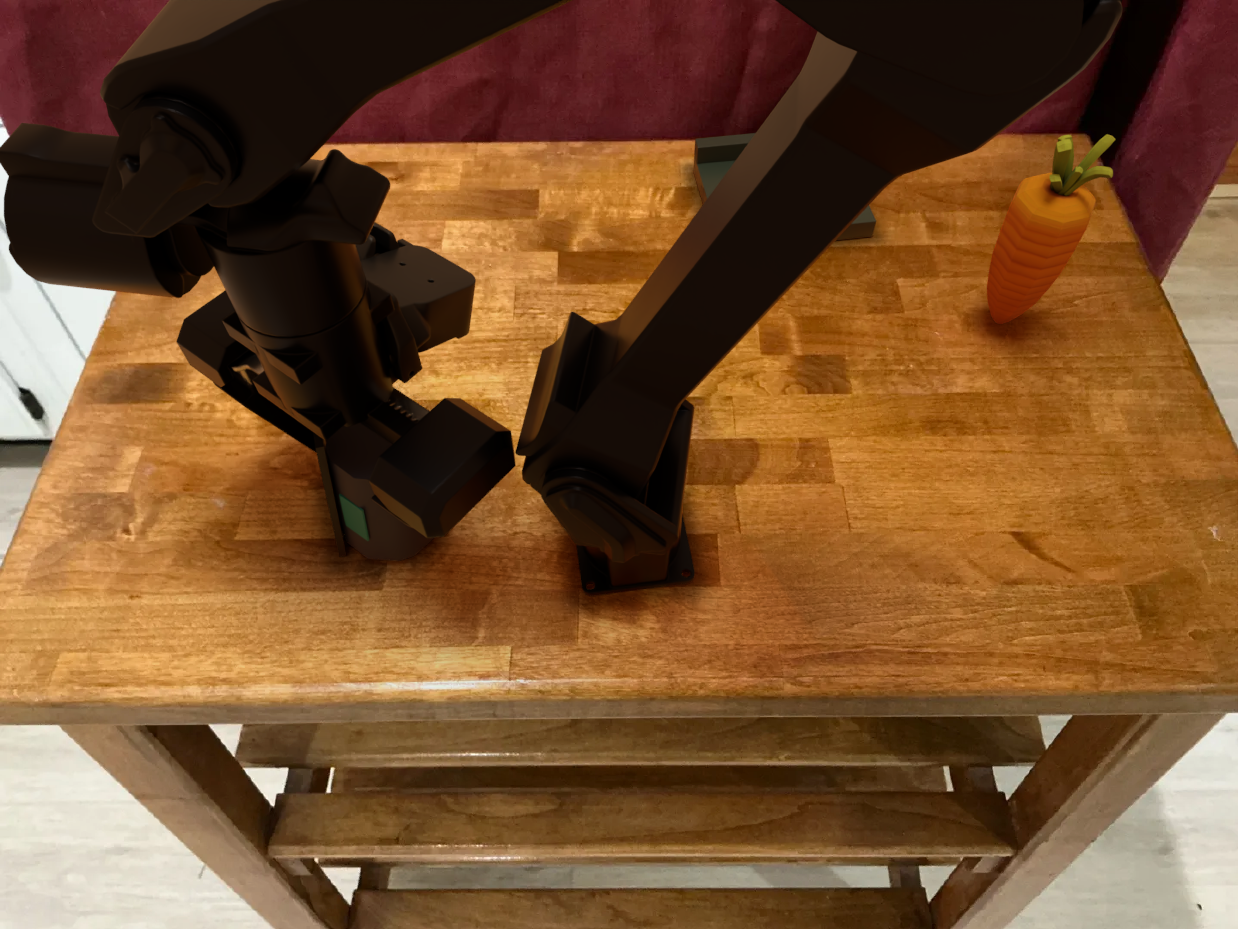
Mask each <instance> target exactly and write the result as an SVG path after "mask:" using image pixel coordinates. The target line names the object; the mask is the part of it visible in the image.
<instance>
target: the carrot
mask: <svg viewBox="0 0 1238 929" xmlns="http://www.w3.org/2000/svg"><path fill="white" fill-rule="evenodd" d="M1115 141H1116V138H1115V137H1114V136H1113V135H1110V134H1105V135H1104V136H1103V137H1102V138H1100V139H1099V140H1098V141H1097V142H1096V143H1095V144H1094V145H1093V146H1092V148H1090V150H1089V151H1088V152H1087V153H1086V155H1085V156H1084V158H1082V160H1081V161H1080V162H1079V164H1078V165H1077V166H1075V167H1074V162H1075V150H1074V148H1075V146H1074V141H1073V136H1072V135H1071V134H1064V135H1061V136H1060V137H1058V138H1057V141H1056V144H1055V147H1054V151H1053V158H1052V169H1051V172H1048V173H1047V172H1046V173H1042V174H1037V175H1033V176H1029V177H1026V178H1023V179H1022V180H1021V182H1020V183H1019V185H1018V187H1017V188H1016V191H1015V193H1014V196H1013V197H1012V200H1011V202H1010V204H1009V207H1008V210H1007V212H1006V215H1005V217H1004V219H1003V221H1002V225H1001V228H1000V230H999V234H998V236H997V238H996V242H995V245H994V248H993V250H992V253H991V257H990V263H989V268H988V275H987V282H986V298H987V305H988V310H989V313H990V317H991V319H992V320H993V321H994V323H995V324H997V325H1003V324H1007V323H1009V322H1011V321H1014V319H1017V318H1018V317H1020V316H1022V315H1024V314H1025V313H1026V312H1028V310H1030V309H1031V308H1032V307H1033V306H1034V305H1037V303H1038V302H1039V300H1041V299H1042V297H1043V296H1044V295H1045V294H1046V293H1047V291H1048V290H1049V289H1050V288H1051V287H1052V286H1053V284H1054V283H1055V282H1056V281H1057V279H1058V278H1059V277H1060V275H1061V274H1062V272H1063V270H1064V269H1065V267H1066V266H1067V264H1068V262H1069V260H1070V259H1071V257H1073V256H1072V255H1073V254H1074V252H1075V250H1076V249H1077V247H1078V245H1079V243H1080V242H1081V240H1082V238H1083V236H1084V235H1085V232H1086V231H1087V229H1088V226H1089V223H1090V221H1091V218H1092V215H1093V212H1094V209H1095V208H1096V202H1097V198H1095V196H1094V195H1093V193H1091V191H1090V190H1089V189H1088V188H1087V186H1085V184H1086V183H1088V182H1091V181H1093V180H1096V179H1100V178H1104V179H1112V178H1113V177H1114V169H1113V168H1111V167H1110V166H1105V165H1097V166H1093V167H1092V165H1093V164H1094V163H1095V162H1096V161H1097V160H1098V159H1099V158H1100V157H1101V155H1103V153H1105V152H1106V151H1107V150H1108V149H1109V148H1110V147H1111V146H1112V145H1113V143H1114V142H1115ZM1090 167H1091V168H1090Z"/></svg>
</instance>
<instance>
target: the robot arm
mask: <svg viewBox="0 0 1238 929" xmlns="http://www.w3.org/2000/svg"><path fill="white" fill-rule="evenodd" d="M572 1H573V0H168V1H167V3H166V4H165V5H164V6H163V7H162V9H161V10H160V11H159V12H158V14H156V16H155V17H154V18H153V20H151V22H150V23H149V24H148V25H147V27H146V28H145V29H144V30H143V32H142V33H141V34H140V35H139V36H138V37H137V38H136V39H135V41H134V42H133V43H132V45H131V46H130V47H129V48H127V51H126V52H125V53H124V54H123V55H122V56H121V58H120V59H119V60H118V61H117V62H116V64H115V65H114V66H113V67H112V69H111V70H110V71H109V72H108V73H107V74H106V76H105V77H104V78H103V81H102V84H101V87H100V90H99V94H100V95H99V96H100V98H101V99H102V101H103V102H104V103H105V107H106V111H107V116H108V118H109V120H110V122H111V124H112V126H113V128H114V129H115V132H116V133H117V135H110V134H101V133H89V132H78V131H71V130H65V129H62V128H59V127H55V126H52V125H46V124H40V123H28V122H21V123H20V124H19V125H18V127H16V128H15V129H14V131H13V132H12V133H11V134H10V135H9V136H8V137H7V139H6V140H5V141H4V142H3V143H2V145H0V165H1V167H2V169H3V170H4V171H5V173H6V174H7V176H8V177H7V181H6V186H5V190H4V196H3V220H4V225H5V232H6V235H7V238H8V240H9V245H8V251H9V254H10V255H11V257H12V259H13V260H14V262H15V263H16V265H17V266H18V267H19V268H20V269H21V270H22V271H23V272H24V273H25V274H26V275H27V276H29V277H31V278H32V279H34V280H35V281H37V282H40V283H44V284H47V285H52V286H53V285H55V286H62V287H63V286H64V287H73V288H82V289H89V290H90V289H91V290H100V291H108V292H116V293H117V292H119V293H127V294H137V295H144V296H154V297H163V298H175V299H181V298H182V297H183V296H184V295H186V294H188V293H190V292H191V291H192V289H193V288H194V287H196V285H197V284H198V283H199V281H200V280H201V278H202V276H206V275H207V274H209V273H210V272H211V271H212V270H213V269H214V270H215V271H216V274H217V276H218V278H219V279H220V282H221V284H222V286H223V288H224V291H222V292H221V293H219V294H217V295H216V296H215V297H213V298H212V299H210V300H209V301H207V302H206V303H205V304H204V305H202V306H201V307H199V308H198V309H196V310H195V311H193V312H192V313H190V314H189V315H188V316H186V317H185V318H184V319H183V320H182V324H181V327H180V329H179V332H178V335H177V339H176V344H177V345H178V347H179V349H180V352H182V354H183V356H184V357H185V360H186V361H187V362H188V364H189V366H191V367H192V368H193V369H195V370H196V371H197V372H199V373H200V374H201V375H203V376H204V377H206V378H207V379H208V380H210V381H211V382H212V383H213V384H214V386H215V387H217V388H218V389H219V390H220V391H221V392H223V393H225V394H226V395H227V396H229V397H230V398H231V399H232V400H234V401H236V402H237V403H239V404H240V405H241V406H242V407H244V408H246V409H247V410H249V411H250V412H251V413H253V414H254V415H256V416H258V417H260V418H261V419H263V420H264V421H266V422H267V423H269V424H270V425H272V426H274V427H275V428H277V429H279V430H280V431H281V432H283V433H284V434H286V435H287V436H289V437H290V438H292V439H294V440H295V441H297V442H298V443H299V444H301V445H303V446H304V447H306V448H308V449H309V450H310V451H312V452H313V453H316V448H315V442H314V435H313V432H314V433H315V434H317V435H318V436H320V437H321V438H322V439H324V440H325V441H326V442H327V439H328V438H330V437H331V436H332V435H333V434H334V433H336V432H337V431H338V430H339V429H340V428H341V427H343V426H346V427H350V426H353V425H356V424H358V423H361V424H362V425H364V426H365V427H367V428H368V429H370V430H371V431H373V432H374V433H375V434H377V435H378V436H380V437H381V438H383V439H384V440H385V441H387V442H388V443H390V444H391V446H390V447H389V448H388V449H387V450H386V451H384V452H383V453H382V454H381V455H380V456H379V457H378V460H377V462H376V465H375V467H374V469H373V472H372V474H371V477H370V479H369V482H370V485H371V487H372V490H373V492H374V494H375V495H374V496H373V497H372V498H371V499H372V500H373V501H374V502H375V503H377V504H378V505H380V506H381V507H382V508H384V509H385V510H386V511H388V512H389V513H390V514H392V515H393V516H395V517H396V518H397V519H399V520H400V521H401V522H403V523H404V524H406V525H407V526H409V527H411V528H414V529H415V530H417V531H418V532H420V533H421V534H422V535H424V536H425V537H426V538H434V537H435V538H443V537H446V535H447V534H448V533H450V531H451V530H452V529H454V528H455V527H456V526H457V525H458V524H459V522H461V521H462V520H463V519H464V518H465V517H466V516H467V515H468V514H469V513H470V512H471V511H472V510H473V509H474V508H475V507H476V506H477V505H478V504H479V503H480V502H481V501H482V500H483V499H484V498H485V497H486V496H487V495H488V494H489V493H490V492H491V491H492V490H493V489H494V488H495V487H496V486H497V485H498V484H499V483H500V482H501V481H502V480H503V479H504V478H505V477H506V476H507V475H508V474H509V473H510V472H511V471H512V470H513V469H514V468H515V467H516V466H517V465H516V455H517V456H519V457H524V460H523V464H522V470H521V478H522V481H523V482H524V483H525V484H526V485H530V487H531V488H532V490H534V491H535V492H537V493H538V494H539V495H540V497H541V499H542V501H543V503H544V504H545V506H546V507H547V508H548V509H549V511H550V512H551V513H552V515H553V516H554V517H555V519H556V520H557V522H558V523H559V524H560V525H561V527H562V528H563V529H564V531H565V532H566V533H567V535H568V536H569V537H570V539H571V540H572V541H573V543H574V544H575V545H576V554H577V555H576V556H577V562H578V569H579V577H580V578H579V579H580V586H581V592H582V593H583V594H584V595H585V596H587V597H596V596H604V595H610V594H611V595H613V594H620V593H621V594H622V593H628V592H636V591H643V590H650V589H657V588H667V587H673V586H682V585H689V584H691V583H693V582H694V580H695V576H696V575H695V574H696V571H695V567H694V562H693V557H692V553H691V548H690V547H691V546H690V543H689V537H688V533H687V527H686V524H685V518H684V514H683V510H684V498H685V489H686V488H685V487H686V480H687V472H688V465H689V456H690V450H691V449H690V448H691V438H692V432H693V431H692V430H693V425H694V423H693V422H694V416H695V408H696V407H695V405H694V404H692V403H691V402H690V401H688V399H687V398H688V397H689V396H690V395H691V394H692V393H693V392H694V391H695V390H696V389H697V388H698V387H699V386H700V385H701V384H702V382H703V381H704V380H706V378H707V377H708V376H709V375H710V374H711V373H712V372H713V371H714V370H715V369H716V367H718V365H720V363H721V362H722V361H723V360H725V358H726V357H727V356H728V355H729V354H730V353H731V352H732V351H733V349H734V348H735V347H736V346H738V344H739V343H740V342H741V341H742V340H743V339H744V338H745V337H746V336H747V335H748V334H749V333H750V332H751V331H752V329H753V328H754V327H755V326H756V325H757V324H759V322H760V321H761V320H763V318H764V317H765V316H766V314H768V313H769V312H770V311H771V309H772V308H773V307H775V305H776V304H778V302H779V301H780V300H781V299H782V298H783V297H784V296H785V295H786V294H787V293H788V292H789V290H790V289H791V288H792V287H793V286H794V285H795V284H796V283H797V282H798V281H799V280H800V279H801V277H803V276H804V274H806V273H807V272H808V270H809V269H810V268H811V267H812V266H813V265H814V264H815V263H816V262H817V261H818V259H820V258H821V257H822V256H823V254H824V253H825V252H826V251H827V250H828V249H829V248H830V247H831V246H832V244H834V243H835V242H836V241H837V240H836V239H837V238H838V237H839V236H840V235H841V234H842V233H843V232H844V231H845V230H846V229H847V228H848V227H849V226H850V225H851V223H852V222H853V221H854V220H855V219H856V218H857V217H858V216H859V215H860V214H861V213H862V212H863V211H864V210H865V209H866V208H867V207H868V206H870V204H872V203H873V202H874V201H875V199H877V197H878V196H879V195H880V194H881V193H882V192H883V191H884V190H885V189H886V188H888V186H889V185H891V184H892V183H893V182H894V181H896V180H898V178H900V177H902V176H904V175H906V174H910V173H913V172H917V171H918V170H919V171H920V170H921V169H924V168H927V167H931V166H934V165H938V164H941V163H943V162H946V161H949V160H952V159H955V158H956V159H957V158H959V157H961V156H965V155H968V154H971V153H973V152H976V151H978V150H980V149H981V148H982V147H984V146H986V145H987V144H988V143H989V142H990V141H992V140H993V139H994V138H996V137H997V136H999V135H1000V134H1001V133H1003V132H1004V131H1006V129H1008V128H1010V126H1012V125H1013V124H1014V123H1016V122H1017V121H1019V120H1020V119H1021V118H1023V117H1024V116H1026V114H1028V113H1029V112H1031V111H1032V110H1033V109H1035V108H1037V106H1039V105H1040V104H1042V103H1043V102H1044V101H1045V100H1047V99H1049V98H1050V97H1051V96H1052V95H1053V94H1055V93H1056V92H1058V91H1060V89H1062V88H1063V87H1064V86H1066V85H1067V84H1068V83H1070V82H1072V80H1073V79H1074V78H1075V77H1077V76H1078V75H1079V74H1080V73H1082V72H1083V71H1084V70H1085V69H1086V68H1087V67H1088V66H1089V65H1090V63H1091V62H1092V61H1093V60H1094V59H1095V57H1096V56H1097V55H1098V53H1099V52H1100V51H1101V50H1102V49H1103V48H1104V47H1105V45H1106V43H1107V42H1108V41H1109V40H1110V39H1111V37H1112V35H1113V33H1114V31H1115V29H1116V27H1117V25H1118V23H1119V21H1120V19H1121V17H1122V15H1123V11H1124V8H1123V5H1122V3H1123V0H775V2H777V3H778V4H779V5H781V6H782V7H784V8H785V9H786V10H788V11H789V12H790V13H792V14H793V15H795V16H796V17H797V18H799V19H800V20H801V21H803V22H804V23H806V24H807V25H808V26H810V27H811V28H812V29H814V30H815V31H816V35H815V37H814V40H813V42H812V45H811V48H810V51H809V53H808V55H807V58H806V59H805V62H804V64H803V66H802V68H801V70H800V72H799V74H798V75H797V77H795V79H794V81H793V82H792V84H791V85H790V86H789V87H788V89H787V90H786V92H785V93H784V95H783V96H782V97H781V98H780V100H779V101H778V102H777V104H776V106H774V108H773V109H772V110H771V112H770V114H769V115H768V116H767V117H766V119H765V120H764V122H763V123H762V124H761V125H760V127H759V128H758V129H757V131H756V132H755V133H756V134H755V135H754V136H753V138H752V139H751V140H750V142H749V143H748V145H747V146H746V147H745V149H744V150H743V151H742V153H741V154H740V155H739V157H738V158H737V159H736V161H735V162H734V163H733V165H732V166H731V168H730V169H729V170H728V172H727V173H726V174H725V176H724V177H723V178H722V180H721V181H720V182H719V184H718V185H717V186H716V188H715V189H714V190H713V192H712V193H711V195H710V196H709V197H708V199H707V200H706V201H705V203H704V204H703V203H702V206H700V208H699V209H698V211H697V212H696V213H695V215H694V216H693V217H692V218H691V220H690V221H689V223H688V224H687V226H686V227H685V228H684V229H683V231H682V232H681V234H680V235H679V236H678V238H677V239H676V240H675V241H674V243H673V244H672V246H671V247H670V248H669V250H668V251H667V253H666V254H665V255H664V257H663V258H662V259H661V261H660V262H659V263H658V264H657V266H656V267H655V269H654V270H653V272H652V273H651V274H650V276H649V277H648V278H647V279H646V281H645V282H644V284H643V285H642V286H641V288H640V289H639V290H638V292H637V293H636V295H635V296H634V297H633V298H632V300H631V301H630V303H629V304H628V305H627V307H626V308H625V309H624V310H623V312H622V313H621V314H620V315H619V316H618V317H617V318H616V319H611V320H607V321H602V322H598V323H593V322H591V321H590V320H588V319H587V318H585V317H583V316H581V315H580V314H579V313H577V312H575V311H570V312H569V314H568V317H567V320H566V323H565V326H564V329H562V332H561V334H560V336H559V337H558V338H557V339H556V340H555V341H554V342H553V343H552V344H550V345H548V346H547V347H545V348H543V349H542V350H541V353H540V355H539V356H540V357H539V361H538V364H537V367H536V372H535V376H534V380H533V384H532V388H531V391H530V394H529V398H528V402H527V406H526V409H525V413H524V418H523V422H522V426H521V429H520V433H519V437H518V441H517V445H516V448H514V441H513V435H512V431H511V430H510V429H509V428H507V427H506V426H504V425H502V424H501V423H500V422H498V421H497V420H494V419H493V418H492V417H491V416H489V415H487V414H486V413H484V412H483V411H481V410H479V409H478V408H477V407H474V406H473V405H472V404H470V403H469V402H467V401H465V400H464V399H462V398H460V397H444V398H443V399H442V400H441V401H439V402H438V403H437V404H436V405H435V406H433V408H431V409H430V410H429V409H427V408H426V407H424V406H423V405H421V404H419V403H418V402H416V400H413V399H412V398H410V397H409V396H407V394H404V393H403V392H401V391H400V390H398V389H397V388H396V387H394V384H395V383H396V382H397V381H400V382H402V383H404V384H406V383H408V382H409V381H410V380H411V379H413V378H414V377H415V376H416V375H417V374H419V372H421V371H422V370H423V365H422V361H421V357H420V354H419V353H424V352H427V351H429V350H431V349H434V348H436V347H438V346H440V345H442V344H445V343H447V342H449V341H451V340H453V339H458V340H460V339H462V338H464V337H466V336H468V334H469V333H470V329H471V322H472V312H473V306H474V297H475V289H476V282H477V279H476V277H475V276H474V274H473V273H472V272H470V271H468V270H466V269H465V268H463V267H461V266H460V265H458V264H456V263H454V262H453V261H451V260H449V259H448V258H446V257H444V256H442V255H441V254H438V253H437V252H436V251H434V250H432V249H430V248H428V247H425V246H422V245H417V244H414V243H413V244H412V243H411V242H409V241H407V239H404V238H399V239H397V238H396V235H395V234H394V232H392V231H391V230H390V229H388V228H386V227H384V226H382V224H379V223H378V222H376V221H377V219H378V217H379V214H380V212H381V209H382V207H383V206H384V203H385V201H386V198H387V196H388V194H389V192H390V189H391V181H390V180H389V178H388V177H387V176H386V175H384V174H382V173H380V171H378V170H376V169H374V168H373V167H371V166H369V165H366V164H361V163H359V162H356V161H353V160H351V159H350V158H349V157H347V156H346V155H345V154H344V153H343V152H342V151H341V150H339V149H338V148H337V149H336V148H333V149H330V150H329V151H328V153H327V154H326V156H325V157H324V158H323V159H315V158H313V157H314V156H315V154H316V153H318V152H319V150H320V149H321V148H322V147H323V146H324V145H325V144H326V143H327V142H328V141H329V140H330V139H331V138H332V137H333V136H334V135H335V134H336V132H338V130H339V129H340V128H341V127H342V126H343V125H344V124H345V123H346V122H347V121H348V120H349V119H350V118H351V117H352V116H353V115H354V114H355V113H356V112H357V111H358V110H360V109H361V108H362V107H364V106H365V105H366V104H367V103H369V102H370V101H371V100H372V99H373V98H374V97H376V96H378V95H379V94H381V93H382V92H385V91H387V90H389V89H391V88H393V87H395V86H397V85H399V84H401V83H403V82H405V81H408V80H410V79H412V78H414V77H416V76H418V75H420V74H422V73H424V72H426V71H429V70H430V69H432V68H435V67H437V66H439V65H441V64H443V63H446V62H447V61H449V60H452V59H453V58H456V57H457V56H460V55H462V54H464V53H466V52H468V51H470V50H472V49H474V48H476V47H478V46H480V45H482V44H485V43H487V42H488V41H491V40H494V39H495V38H497V37H500V36H502V35H504V34H505V33H508V32H509V31H511V30H514V29H516V28H518V27H521V26H523V25H524V24H527V23H528V22H531V21H532V20H534V19H537V18H539V17H541V16H544V15H546V14H547V13H550V12H551V11H553V10H556V9H557V8H560V7H561V6H564V5H566V4H568V3H570V2H572ZM316 454H317V453H316ZM435 538H434V539H435ZM684 573H687V574H688V576H685V575H683V574H684ZM590 585H592V586H593V588H588V586H590Z"/></svg>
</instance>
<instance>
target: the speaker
mask: <svg viewBox="0 0 1238 929" xmlns="http://www.w3.org/2000/svg"><path fill="white" fill-rule="evenodd" d="M313 435H314V442H315V448H316V457H317V462H318V466H319V471H320V475H321V479H322V485H323V490H324V494H325V499H326V503H327V507H328V512H329V513H328V514H329V516H330V522H331V526H332V530H333V536H334V540H335V544H336V549H337V553H338V557H339V558H341V557H346V556H347V551H346V546H345V543H347V544H348V545H350V546H351V547H352V548H353V549H354V550H356V551H357V552H359V553H360V554H361V555H362V556H363V557H364V558H366V559H368V560H377V561H378V560H380V561H391V562H402V561H404V560H406V559H411V558H413V557H415V556H416V555H418V553H419V552H420V551H422V550H423V549H424V548H425V547H426V546H427V545H428V544H430V543H431V542H432V541H433V540H434V539H435V538H436V537H434V538H426V537H425V536H424V535H422V534H421V533H420V532H418V531H417V530H415V529H414V528H411V527H409V526H407V525H406V524H404V523H403V522H401V521H400V520H399V519H397V518H396V517H395V516H393V515H392V514H390V513H389V512H388V511H386V510H385V509H384V508H382V507H381V506H380V505H378V504H377V503H375V502H374V501H373V500H372V499H371V498H372V497H373V496H374V495H375V494H374V492H373V490H372V487H371V485H370V482H369V479H370V477H371V474H372V472H373V469H374V467H375V465H376V462H377V460H378V457H379V456H380V455H381V454H382V453H383V452H384V451H386V450H387V449H388V448H389V447H390V446H391V444H390V443H388V442H387V441H385V440H384V439H383V438H381V437H380V436H378V435H377V434H375V433H374V432H373V431H371V430H370V429H368V428H367V427H365V426H364V425H362V424H361V423H358V424H356V425H353V426H350V427H346V426H343V427H341V428H340V429H339V430H338V431H337V432H336V433H334V434H333V435H332V436H331V437H330V438H328V439H327V442H326V441H325V440H324V439H322V438H321V437H320V436H318V435H317V434H315V433H314V432H313Z"/></svg>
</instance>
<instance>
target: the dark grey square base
mask: <svg viewBox="0 0 1238 929" xmlns="http://www.w3.org/2000/svg"><path fill="white" fill-rule="evenodd" d="M755 134H756V132H753V133H743V134H742V133H741V134H731V135H720V136H709V137H698V138H695V139H694V150H693V151H694V152H693V168H692V171H693V174H694V178H695V181H696V185H697V188H698V192H699V195H700V198H701V201H702V205H703V204H704V203H705V201H706V200H707V199H708V197H709V196H710V195H711V193H712V192H713V190H714V189H715V188H716V186H717V185H718V184H719V182H720V181H721V180H722V178H723V177H724V176H725V174H726V173H727V172H728V170H729V169H730V168H731V166H732V165H733V163H734V162H735V161H736V159H737V158H738V157H739V155H740V154H741V153H742V151H743V150H744V149H745V147H746V146H747V145H748V143H749V142H750V140H751V139H752V138H753V136H754V135H755ZM876 224H877V219H876V217H875V214H874V213H873V211H872V208H871V206H870V205H869V206H868V207H867V208H866V209H865V210H864V211H863V212H862V213H861V214H860V215H859V216H858V217H857V218H856V219H855V220H854V221H853V222H852V223H851V225H850V226H849V227H848V228H847V229H846V230H845V231H844V232H843V233H842V234H841V235H840V236H839V237H838V238H837V239H836V240H835V241H844V240H851V239H852V240H854V239H862V238H871V237H873V236H874V232H875V228H876Z"/></svg>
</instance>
